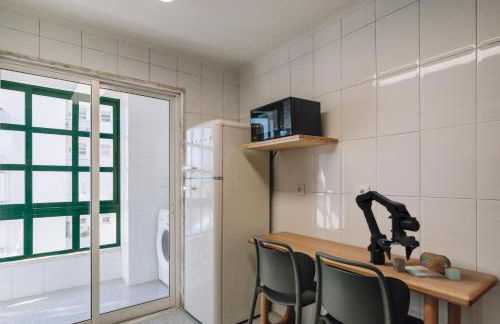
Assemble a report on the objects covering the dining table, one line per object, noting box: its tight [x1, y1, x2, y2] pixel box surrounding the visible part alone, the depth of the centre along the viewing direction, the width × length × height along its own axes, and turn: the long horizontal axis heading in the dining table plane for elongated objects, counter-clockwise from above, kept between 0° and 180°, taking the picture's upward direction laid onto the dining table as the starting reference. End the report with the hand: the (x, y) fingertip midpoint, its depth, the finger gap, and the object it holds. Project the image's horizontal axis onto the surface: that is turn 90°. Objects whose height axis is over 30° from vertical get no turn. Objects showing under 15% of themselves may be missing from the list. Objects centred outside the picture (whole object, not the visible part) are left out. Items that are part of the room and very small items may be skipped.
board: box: [405, 265, 446, 279], centre depth 142 cm, size 13×17×1 cm
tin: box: [419, 251, 452, 274], centre depth 145 cm, size 15×3×8 cm, turn 21°
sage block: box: [444, 267, 461, 281], centre depth 133 cm, size 4×4×4 cm
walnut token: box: [392, 257, 406, 273], centre depth 143 cm, size 4×4×6 cm
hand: (398, 260), depth 143 cm, fingers open, 9 cm apart
